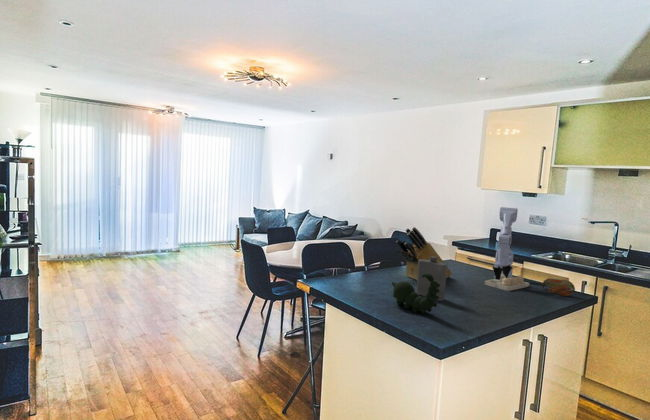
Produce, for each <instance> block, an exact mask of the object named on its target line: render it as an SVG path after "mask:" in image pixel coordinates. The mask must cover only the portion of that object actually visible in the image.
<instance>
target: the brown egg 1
mask: <svg viewBox="0 0 650 420" xmlns="http://www.w3.org/2000/svg"><path fill="white" fill-rule="evenodd" d="M510 284H511V281H510V279H508V278H504V279H503V280H502V285H503V286H507V287H509V286H510Z"/></svg>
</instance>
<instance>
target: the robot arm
mask: <svg viewBox="0 0 650 420" xmlns="http://www.w3.org/2000/svg"><path fill="white" fill-rule="evenodd" d="M518 211H519V210H518V207H506V206H501V207H500V208H499V220H500V221H501V222H502V224H503V225H502V226H501V227H500V234H499V235H498V249H496V253H495V259H494V261H495V263H493V266H492V269H493V273H494V276H493V278H494V279H497V280H500V277H501V274H504V275H505V277H506V278H510V277H513V270H514V269H513V266H512V265H513V263H514V251H513V250H511V248H510V247H511V246H512V245H511V244H512V231H513V230H512V225H513V224H514V223H515V222H516V221H517V217H518Z"/></svg>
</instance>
